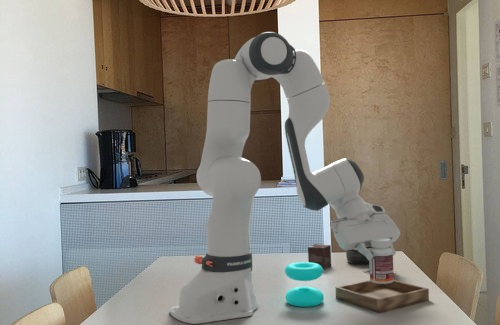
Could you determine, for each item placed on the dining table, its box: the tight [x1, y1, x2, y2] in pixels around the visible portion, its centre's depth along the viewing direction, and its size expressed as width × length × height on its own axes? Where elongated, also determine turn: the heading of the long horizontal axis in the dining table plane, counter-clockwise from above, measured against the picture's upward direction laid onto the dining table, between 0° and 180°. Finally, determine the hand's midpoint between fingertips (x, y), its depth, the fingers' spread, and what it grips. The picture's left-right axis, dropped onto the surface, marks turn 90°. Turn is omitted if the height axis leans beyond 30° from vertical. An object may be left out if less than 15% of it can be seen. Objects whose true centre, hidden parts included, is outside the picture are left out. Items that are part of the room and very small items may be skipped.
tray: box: [335, 279, 430, 314], centre depth 140 cm, size 18×16×3 cm
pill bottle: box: [368, 238, 395, 284], centre depth 140 cm, size 6×6×11 cm
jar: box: [345, 246, 372, 266], centre depth 186 cm, size 10×10×8 cm
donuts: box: [284, 261, 325, 308], centre depth 139 cm, size 10×10×10 cm
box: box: [307, 243, 332, 270], centre depth 180 cm, size 6×6×7 cm
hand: (382, 256), depth 139 cm, fingers closed on pill bottle, 6 cm apart
